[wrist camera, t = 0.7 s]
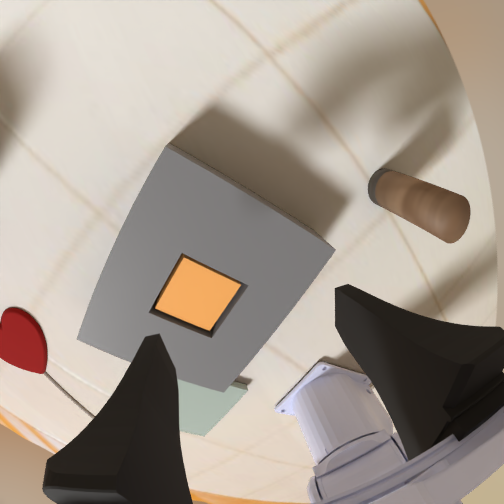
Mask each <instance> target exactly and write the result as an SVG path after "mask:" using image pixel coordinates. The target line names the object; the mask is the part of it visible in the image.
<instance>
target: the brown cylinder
mask: <svg viewBox="0 0 504 504" xmlns="http://www.w3.org/2000/svg"><path fill="white" fill-rule="evenodd" d="M368 194H369V197H370V199H371V200H372V201H373V202H374V203H375V204H377V205H379V206H381V207H383V208H385V209H387V210H388V211H390V212H392V213H394V214H396V215H398V216H400V217H402V218H404V219H406V220H407V221H409V222H411V223H413V224H415V225H417V226H418V227H420V228H422V229H424V230H425V231H427V232H429V233H431V234H433V235H434V236H436V237H438V238H439V239H441V240H443V241H445V242H446V243H454V242H456V241H458V240H459V239H460V238H461V237H462V235H463V234H464V233H465V231H466V229H467V226H468V224H469V220H470V205H469V202H468V200H467V199H466V198H465V197H464V196H462V195H459V194H457V193H454V192H452V191H449V190H446V189H444V188H441V187H439V186H436V185H433V184H430V183H428V182H425V181H422V180H419V179H416V178H414V177H411V176H408V175H405V174H402V173H399V172H396V171H392V170H389V169H380V170H378V171H376V172H375V173H374V174H373V175H372V177H371V178H370V181H369V184H368Z"/></svg>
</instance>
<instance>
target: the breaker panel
mask: <svg viewBox="0 0 504 504" xmlns="http://www.w3.org/2000/svg"><path fill="white" fill-rule="evenodd" d="M334 252H335V249H334V248H333V247H332V246H331V245H330V244H329V243H328V242H326V241H325V240H324V239H323V238H322V237H321V236H320V235H319V234H317V233H316V232H315V231H314V230H312V229H311V228H309V227H308V226H306V225H305V224H303V223H301V222H300V221H298V220H297V219H295V218H294V217H292V216H291V215H289V214H287V213H286V212H284V211H283V210H281V209H279V208H278V207H276V206H275V205H273V204H272V203H270V202H268V201H267V200H265V199H263V198H262V197H260V196H259V195H257V194H255V193H254V192H252V191H250V190H249V189H247V188H246V187H244V186H242V185H241V184H239V183H237V182H236V181H234V180H232V179H231V178H229V177H227V176H226V175H224V174H222V173H220V172H219V171H217V170H215V169H214V168H212V167H210V166H209V165H207V164H205V163H203V162H202V161H200V160H198V159H196V158H195V157H193V156H191V155H189V154H188V153H186V152H184V151H182V150H181V149H179V148H177V147H175V146H174V145H172V144H170V143H168V144H167V145H166V146H165V148H164V150H163V151H162V153H161V155H160V156H159V158H158V160H157V162H156V163H155V165H154V167H153V169H152V170H151V172H150V174H149V176H148V178H147V180H146V181H145V183H144V185H143V187H142V189H141V191H140V193H139V194H138V196H137V198H136V200H135V202H134V204H133V206H132V208H131V210H130V212H129V214H128V216H127V218H126V220H125V222H124V224H123V226H122V228H121V230H120V233H119V235H118V237H117V239H116V241H115V243H114V246H113V248H112V250H111V252H110V254H109V257H108V259H107V261H106V264H105V266H104V268H103V271H102V273H101V275H100V278H99V280H98V283H97V285H96V288H95V290H94V293H93V295H92V298H91V301H90V303H89V306H88V308H87V311H86V314H85V317H84V319H83V322H82V325H81V328H80V331H79V334H78V337H77V340H80V341H82V342H84V343H86V344H88V345H90V346H93V347H95V348H97V349H100V350H102V351H104V352H107V353H109V354H111V355H114V356H116V357H119V358H121V359H124V360H126V361H129V362H132V360H133V358H134V357H135V355H136V353H137V351H138V349H139V347H140V345H141V343H142V341H143V340H144V338H145V336H150V335H154V334H159V333H160V336H161V338H162V340H163V342H164V345H165V347H166V349H167V351H168V353H169V355H170V358H171V360H172V362H173V364H174V366H175V368H176V374H177V379H179V380H182V381H185V382H188V383H192V384H195V385H198V386H202V387H205V388H208V389H212V390H216V391H219V392H223V393H224V392H225V391H226V390H227V388H228V387H229V386H230V385H231V384H232V383H233V381H234V380H235V379H236V378H237V377H238V376H239V374H240V373H241V372H242V371H243V370H244V368H245V367H246V366H247V365H248V364H249V362H250V361H251V360H252V359H253V358H254V356H255V355H256V354H257V353H258V352H259V350H260V349H261V348H262V347H263V345H264V344H265V343H266V342H267V340H268V339H269V338H270V337H271V335H272V334H273V333H274V332H275V330H276V329H277V328H278V327H279V325H280V324H281V323H282V321H283V320H284V319H285V318H286V316H287V315H288V314H289V312H290V311H291V310H292V309H293V307H294V306H295V305H296V303H297V302H298V301H299V299H300V298H301V297H302V295H303V294H304V293H305V291H306V290H307V289H308V287H309V286H310V285H311V283H312V282H313V281H314V279H315V278H316V277H317V275H318V274H319V273H320V271H321V270H322V268H323V267H324V266H325V264H326V263H327V262H328V260H329V259H330V257H331V256H332V255H333V253H334ZM182 253H183V254H185V255H187V256H189V257H191V258H193V259H195V260H197V261H199V262H201V263H203V264H205V265H207V266H209V267H211V268H213V269H215V270H217V271H219V272H222V273H224V274H226V275H228V276H230V277H232V278H234V279H236V280H238V281H240V283H241V286H240V287H239V289H238V290H237V292H236V293H235V295H234V296H233V298H232V299H231V301H230V302H229V303H228V305H227V306H226V308H225V309H224V311H223V312H222V314H221V315H220V316H219V318H218V319H217V321H216V322H215V324H214V325H213V327H212V328H211V330H210V331H208V330H206V329H203V328H201V327H198V326H196V325H193V324H191V323H188V322H186V321H184V320H181V319H179V318H176V317H174V316H172V315H169V314H167V313H165V312H162V311H160V310H158V309H155V304H156V298H157V296H158V294H159V293H160V291H161V289H162V287H163V285H164V284H165V282H166V280H167V278H168V276H169V275H170V273H171V271H172V269H173V268H174V266H175V264H176V262H177V261H178V259H179V257H180V256H181V254H182Z"/></svg>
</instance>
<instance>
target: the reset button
mask: <svg viewBox="0 0 504 504" xmlns="http://www.w3.org/2000/svg"><path fill="white" fill-rule="evenodd" d="M240 286H241V283H240V281H238V280H236V279H234V278H232V277H230V276H228V275H226V274H224V273H222V272H219V271H217V270H215V269H213V268H211V267H209V266H207V265H205V264H203V263H201V262H199V261H197V260H195V259H193V258H191V257H189V256H187V255H185V254H183V253H182V254H181V256H180V257H179V259H178V261H177V262H176V264H175V266H174V268H173V269H172V271H171V273H170V275H169V276H168V278H167V280H166V282H165V284H164V285H163V287H162V289H161V291H160V293H159V294H158V296H157V298H156V304H155V309H158V310H160V311H162V312H165V313H167V314H169V315H172V316H174V317H176V318H179V319H181V320H184V321H186V322H188V323H191V324H193V325H196V326H198V327H201V328H203V329H206V330H208V331H210V330H211V328H212V327H213V325H214V324H215V322H216V321H217V319H218V318H219V316H220V315H221V314H222V312H223V311H224V309H225V308H226V306H227V305H228V303H229V302H230V301H231V299H232V298H233V296H234V295H235V293H236V292H237V290H238V289H239V287H240Z"/></svg>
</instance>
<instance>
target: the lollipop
mask: <svg viewBox="0 0 504 504" xmlns="http://www.w3.org/2000/svg"><path fill="white" fill-rule="evenodd" d="M0 358H1V359H3V360H4V361H6V362H8V363H9V364H11V365H14V366H16V367H18V368H21V369H24V370H27V371H31V372H35V373H39V374H44V375H45V376H46V377H47V378H48V379H49V380H50V381H51V382H52V383H53V384H54V385H55V386H56V387H57V388H58V389H59V390H61V391H62V392H63V393H64V394H65V395H66V396H67V397H68V398H69V399H70V400H71V401H73V402H74V403H75V404H76V405H77V406H78V407H79V408H81V409H82V410H83V411H84V412H85V413H87V414H88V415H89V416H90V417H91V418H93V419H94V418H95V417H94V416H93V415H92V414H91V413H90V412H88V411H87V410H86V409H85V408H84V407H82V406H81V405H80V404H79V403H78V402H77V401H76V400H75V399H73V398H72V397H71V396H70V395H69V394H68V393H67V392H66V391H65V390H64V389H63V388H61V387H60V386H59V385H58V384H57V383H56V382H55V381H54V380H53V379H52V378H51V377H50V376H49V375H48V374H47V373H46V372H45V370H46V365H47V345H46V341H45V337H44V335H43V332H42V330H41V328H40V326H39V325H38V323H37V322H36V321H35V320H34V319H33V318H32V317H31V316H30V315H29V314H28V313H27V312H25V311H23V310H21V309H18V308H8V309H6V310H5V311H4V312H3V314H2V317H1V323H0Z"/></svg>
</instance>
